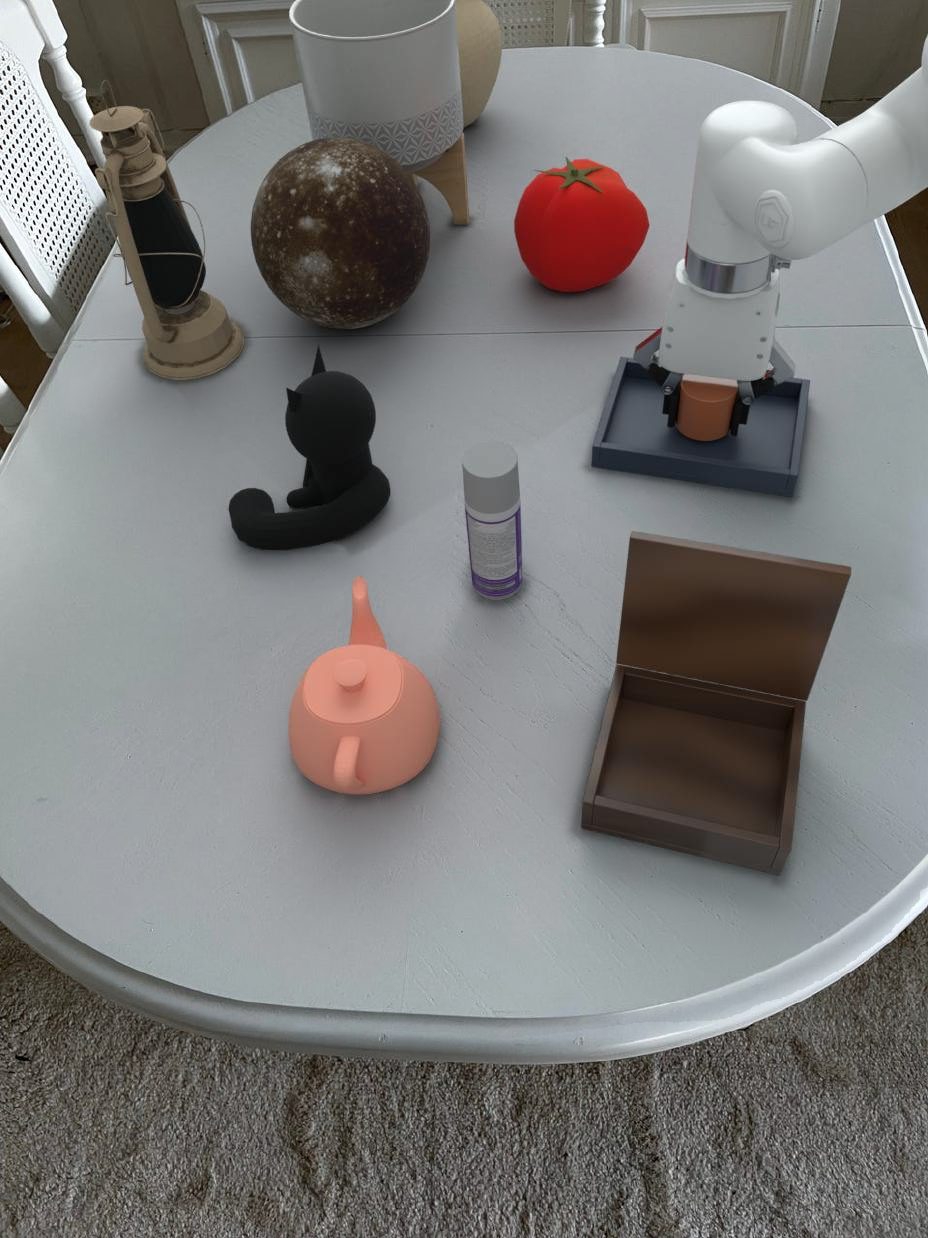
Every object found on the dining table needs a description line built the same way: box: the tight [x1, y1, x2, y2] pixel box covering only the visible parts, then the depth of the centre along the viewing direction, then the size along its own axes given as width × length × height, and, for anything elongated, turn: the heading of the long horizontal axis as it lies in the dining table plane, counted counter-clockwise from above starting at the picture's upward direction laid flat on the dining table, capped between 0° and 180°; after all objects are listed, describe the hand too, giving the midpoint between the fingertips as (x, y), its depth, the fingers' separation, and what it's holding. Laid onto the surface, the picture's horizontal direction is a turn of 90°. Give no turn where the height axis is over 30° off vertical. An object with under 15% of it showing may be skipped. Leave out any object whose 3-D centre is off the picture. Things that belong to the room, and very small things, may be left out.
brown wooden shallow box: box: [580, 664, 807, 876], centre depth 74 cm, size 13×15×4 cm
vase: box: [455, 0, 503, 129], centre depth 135 cm, size 17×17×30 cm
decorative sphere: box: [250, 137, 431, 330], centre depth 109 cm, size 20×20×20 cm
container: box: [461, 439, 524, 601], centre depth 83 cm, size 5×5×15 cm
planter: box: [288, 0, 470, 226], centre depth 119 cm, size 19×19×26 cm
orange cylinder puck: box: [676, 374, 739, 441], centre depth 96 cm, size 6×6×5 cm
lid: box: [615, 530, 852, 702], centre depth 70 cm, size 13×15×1 cm
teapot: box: [288, 576, 441, 795], centre depth 76 cm, size 12×18×10 cm
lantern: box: [88, 79, 245, 381], centre depth 103 cm, size 15×12×30 cm
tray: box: [590, 356, 811, 498], centre depth 98 cm, size 20×15×3 cm
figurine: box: [227, 344, 391, 552], centre depth 91 cm, size 16×14×15 cm
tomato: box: [513, 156, 651, 293], centre depth 113 cm, size 16×14×14 cm
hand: (703, 421), depth 98 cm, fingers closed on orange cylinder puck, 5 cm apart
